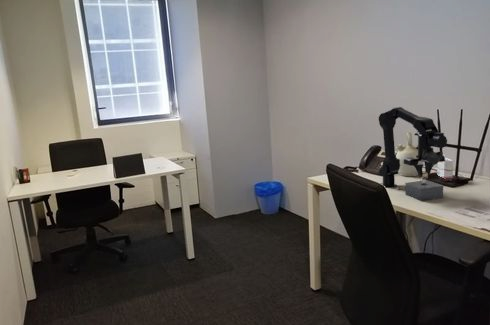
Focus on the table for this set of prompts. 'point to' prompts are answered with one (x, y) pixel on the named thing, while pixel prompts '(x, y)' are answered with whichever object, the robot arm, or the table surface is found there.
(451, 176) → the ink cartridge box
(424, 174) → the plunger
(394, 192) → the table surface
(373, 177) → the table surface
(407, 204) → the table surface
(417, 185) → the block
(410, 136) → the jug
